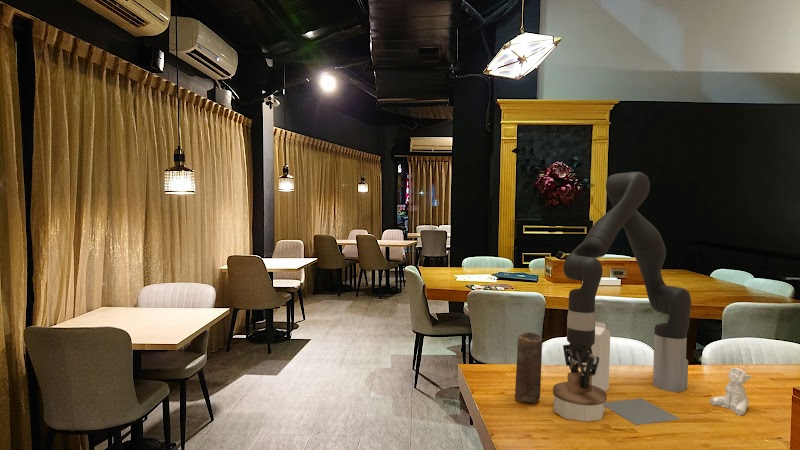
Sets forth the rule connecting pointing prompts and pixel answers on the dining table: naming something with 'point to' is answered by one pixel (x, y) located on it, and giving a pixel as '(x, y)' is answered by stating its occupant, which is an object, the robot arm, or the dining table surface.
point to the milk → (601, 356)
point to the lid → (579, 391)
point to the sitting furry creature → (734, 393)
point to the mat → (639, 411)
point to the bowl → (578, 410)
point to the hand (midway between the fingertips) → (579, 385)
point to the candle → (528, 367)
